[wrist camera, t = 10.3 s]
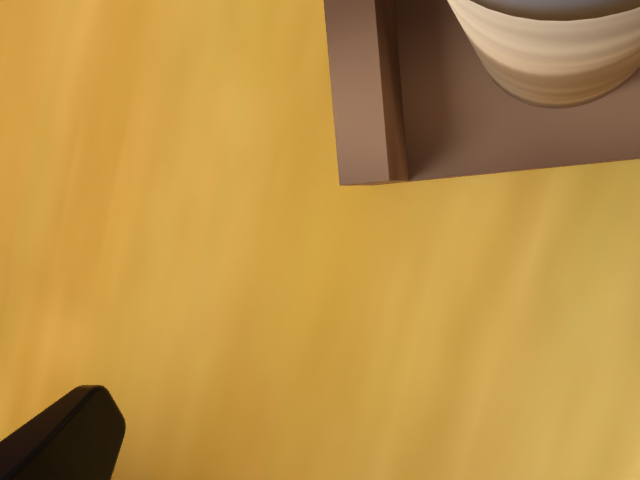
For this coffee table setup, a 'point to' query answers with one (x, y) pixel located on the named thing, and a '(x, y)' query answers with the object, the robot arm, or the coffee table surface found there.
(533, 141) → the cradle
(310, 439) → the coffee table surface
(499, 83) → the lidded tumbler
